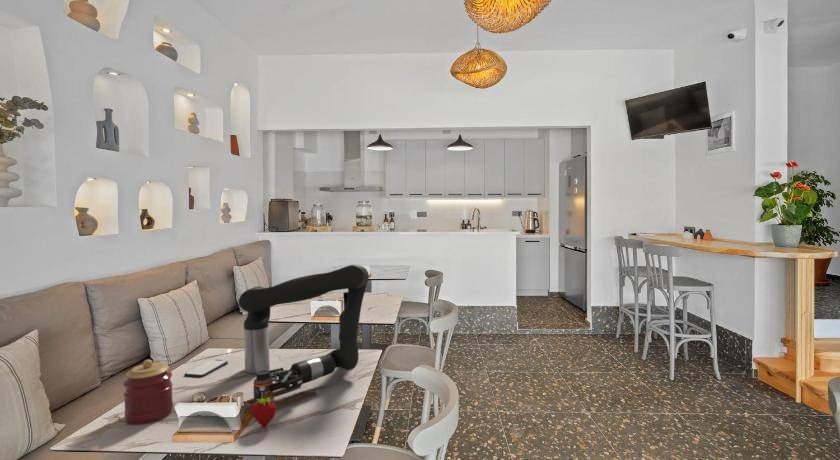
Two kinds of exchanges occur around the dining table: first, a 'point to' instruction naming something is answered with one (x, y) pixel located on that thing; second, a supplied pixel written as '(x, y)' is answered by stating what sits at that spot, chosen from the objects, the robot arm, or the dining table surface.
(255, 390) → the supplement bottle
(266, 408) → the strawberry
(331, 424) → the dining table surface
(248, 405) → the walnut track
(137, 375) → the canister
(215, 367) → the phone case
